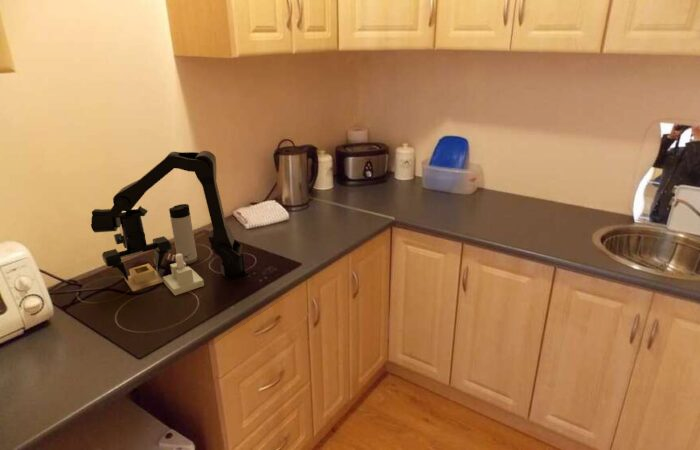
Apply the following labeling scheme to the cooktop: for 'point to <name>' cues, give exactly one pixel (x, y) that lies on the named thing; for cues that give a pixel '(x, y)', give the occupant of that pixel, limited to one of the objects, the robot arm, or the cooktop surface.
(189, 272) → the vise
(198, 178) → the robot arm
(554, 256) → the cooktop surface
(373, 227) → the cooktop surface
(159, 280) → the pad
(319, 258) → the cooktop surface
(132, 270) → the collar
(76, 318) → the cooktop surface
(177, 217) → the travel mug
